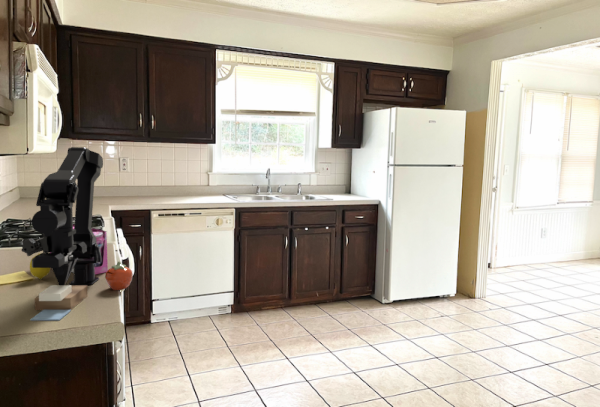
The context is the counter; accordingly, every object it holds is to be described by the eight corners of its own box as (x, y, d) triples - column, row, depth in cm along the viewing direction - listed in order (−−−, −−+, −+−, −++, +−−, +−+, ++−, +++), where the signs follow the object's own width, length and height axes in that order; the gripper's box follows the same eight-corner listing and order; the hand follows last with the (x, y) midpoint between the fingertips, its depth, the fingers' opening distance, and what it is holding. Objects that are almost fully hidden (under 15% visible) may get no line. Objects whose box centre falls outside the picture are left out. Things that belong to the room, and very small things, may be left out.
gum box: (111, 272, 149) (110, 231, 147) (88, 277, 142) (87, 234, 141) (71, 261, 162) (70, 223, 161) (49, 265, 156) (47, 225, 154)
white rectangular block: (51, 292, 118) (51, 285, 118) (71, 291, 118) (71, 285, 118) (39, 301, 111) (38, 293, 111) (60, 300, 111) (60, 293, 111)
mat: (43, 310, 113) (43, 309, 113) (71, 310, 113) (71, 309, 113) (30, 320, 106) (30, 319, 106) (59, 320, 107) (59, 319, 107)
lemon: (53, 276, 142) (52, 251, 141) (47, 281, 137) (46, 255, 136) (34, 276, 141) (33, 251, 140) (27, 282, 136) (25, 255, 135)
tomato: (101, 287, 132) (100, 260, 132) (126, 283, 138) (126, 257, 137) (111, 294, 127) (111, 265, 126) (137, 288, 132) (137, 261, 131)
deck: (55, 296, 124) (54, 285, 124) (87, 296, 125) (87, 285, 124) (35, 310, 113) (34, 298, 113) (70, 310, 114) (70, 298, 113)
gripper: (44, 220, 125) (46, 276, 127) (7, 233, 107) (10, 297, 109) (86, 221, 126) (88, 276, 128) (56, 233, 108) (58, 297, 109)
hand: (62, 286), depth 118 cm, fingers closed
